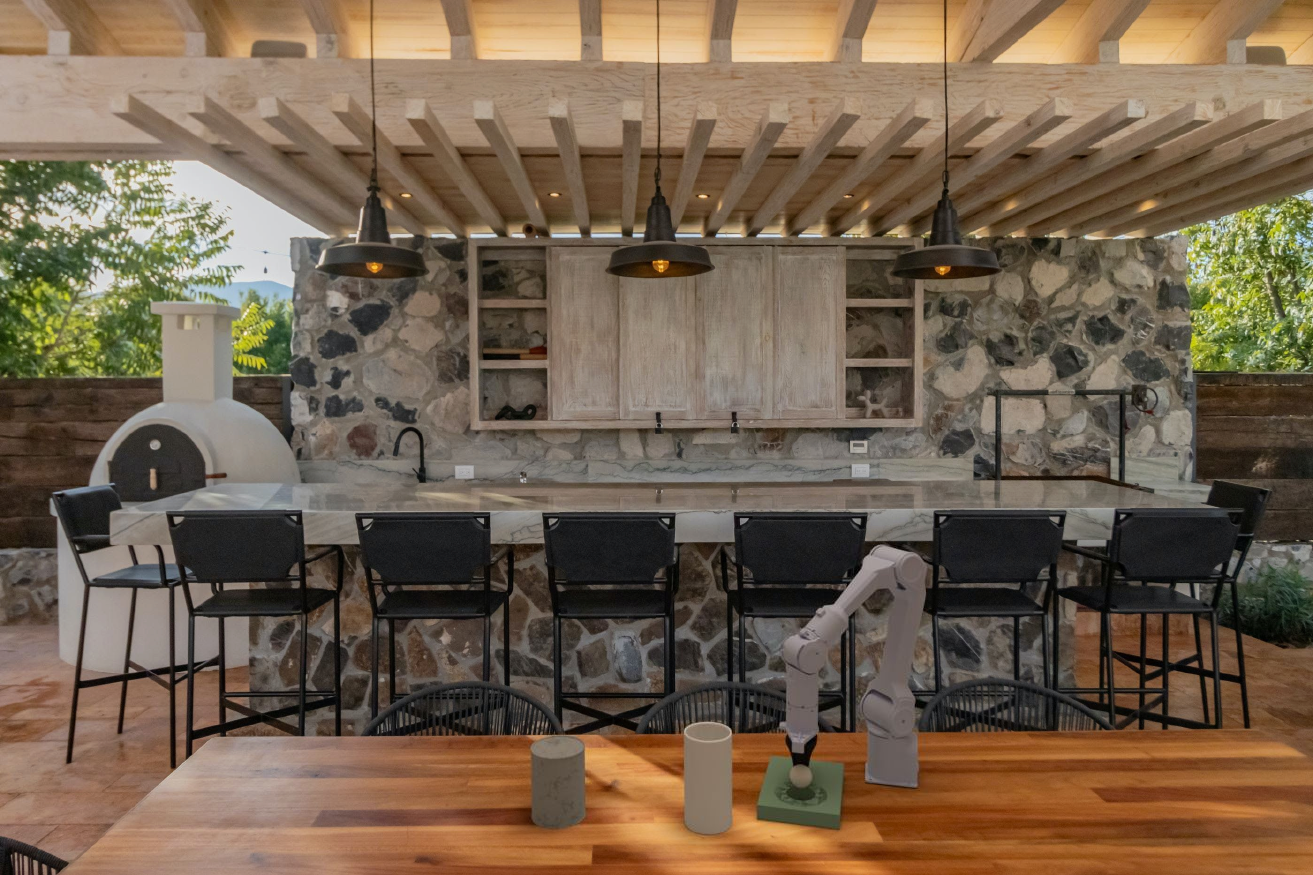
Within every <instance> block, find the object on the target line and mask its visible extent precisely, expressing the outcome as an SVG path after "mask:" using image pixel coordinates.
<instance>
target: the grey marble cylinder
mask: <svg viewBox="0 0 1313 875" xmlns="http://www.w3.org/2000/svg"><path fill="white" fill-rule="evenodd" d="M585 743H586V742H584V740H582V739H580V737H579V738H578V737H576V736H572V735H566V734H565V735H564V734H561V735H559V734H557V735H550V736H545V737H541V738H539V739H537V740H535V741H534V742H532V744H531V746H530V772H531V774H530V781H531V782H530V783H531V784H530V785H531V815H530V817H531V821H532V822H533V824H535V825H536V826H539V827H540V828H542V829H543V828H544V829H550V830H560V829H567V828H571V827H573V826H576V825H578V824H580V823H581V822H582V821H584V819H585V818H586V814H587V810H586V755H585V754H586V752H585V751H586V749H585V748H586V744H585Z"/></svg>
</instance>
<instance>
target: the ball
mask: <svg viewBox="0 0 1313 875" xmlns="http://www.w3.org/2000/svg"><path fill="white" fill-rule="evenodd" d="M790 780H791V782H792V783H793V785H795V786H796V787H798V788H805V787H807V786H808V785H809V784H810V783H811V781H812V773H811V771H810V769H809V768H808V767H807V766H805V765H802V764H798V765H795V766H794V767H793V768H792V769H791V771H790Z"/></svg>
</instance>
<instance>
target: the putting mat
mask: <svg viewBox="0 0 1313 875" xmlns="http://www.w3.org/2000/svg"><path fill="white" fill-rule="evenodd" d="M792 768H793V762H792V757H784V756H776V755H770V758H769V763H768V764H767V769H766V772H765V776H764V779H763V782H762V785H761V790H760V793H759V796H758V799H757V803H756V819H757V820H762V821H771V822H778V823H784V824H785V823H787V824H792V825H793V824H794V825H802V826H809V827H810V826H811V827H816V828H817V827H818V828H825V829H834V830H840V827H841V826H840V825H841V814H842V813H841V812H842V804H843V803H842V802H843V789H844V780H845V779H844V778H845V776H844V775H845V763H841V762H834V761H823V760H816V759H815V760H814V759H810V763H809V769H810V771H811V773H812V781H811V783H810V784H809V785H808V786H807V787H805V788H798V787H796V786H795V785H793V783H792V782H791V780H790V771H791V769H792Z"/></svg>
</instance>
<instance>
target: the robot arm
mask: <svg viewBox="0 0 1313 875" xmlns="http://www.w3.org/2000/svg"><path fill="white" fill-rule="evenodd" d="M927 571H928V565H927V564H926V563H925V561H924V560H923V558H922V557H921V555H919V554H918V553H916V552H912V551H906V550H902V549H900V548H899V549H898V548H894V547H892V546H891V547H890V546H888V545H886V544H878V545H876V546H874V547H873V548H872V549H871V550H870V552H869V554H867V555H866V556H865V557H864V558H863V560H862V567H861V569H860V570H859V571H858V573H857V574H856V575H855V576H854V578H853V579H852V580H851V581H850V583H849V584H848V586H847V587H846V588H845V589H844V590H843V592H842V593H841V594H840V596H839V597H838V598H837V599H836V600H835V602H834V604H829V605H828V604H827V605H823V607H819V608H818V609H816V611H815V615H814V616H813V618H811V620H810V621H808V623H807V624H806V625H805V626H804V627H803V628H801V629H800V631H799V633H796V634H794V635H791V636H790V637H788V638H787V639H786V640H785V642H784V643H783V646H782V649H780V657H781V659H782V661H783V662H784V663H785V671H786V691H785V692H786V695H785V696H786V699H785V700H786V703H785V706H786V707H785V712H786V713H785V721H781V722H779V726H778V727H779V728H778V729H780V730H782V731H785V732H786V735H785V739H784V740H785V745H786V746H787V748H788V751H789V753H790V756H791V757H790V758H792V762H793V767H794V766H795V765H798V764H802V765H805V766H807V767H808V768H809V763H810V760H811V757H812V753H813V752H814V751H815V750H814V749H815V748H816V747H817V743H818V739H819V738H818V736H819V735H818V734H819V732H820V727H819V725H818V721H819V718H818V716H819V677H820V676H819V675H820V674H819V671H820V670H821V669H822V668H824V667H825V664H826V660H827V656H828V654H829V651H830V648H831V647H832V646H833V645H834V644H835V643H836V642H837V640H838V639H839V638H840V637H841V636H842V635H843V633H844V632H845V631H846V630H847V629H848V627H849V617H850V616H851V615H852V614H853V613H854V612H856V610H857V609H859V607H861V605H863V603H864V602H865V601H867V600H868V599H869V597H871V596H872V595H873V594H874V593H875V592H876V591H877V590H882V589H888V590H889V591H890V592H891V594H892V595H893V597H894V600H893V605H892V609H891V614H890V620H889V624H888V629H887V632H886V633H887V634H886V638H885V643H884V647H883V648H884V649H883V652H882V657H881V663H880V667H879V672H878V676H877V677H875V678H874V679H872V680H870V681H869V682H868V684H867V688H866V691H865V693H864V694H863V696H862V698H861V700H860V703H859V712H860V714H861V716H862V717H863V718H864V720H865V726H867V762H865V764H864V766H865V767H864V768H865V769H864V770H865V771H864V772H865V774H864V779H865V780H864V782H866V783H870V784H879V785H888V786H894V787H896V786H898V787H905V788H906V787H907V788H914V789H916V788H918V787H919V785H918V773H920V764H919V758H918V757H919V754H918V753H919V751H918V750H919V749H918V748H919V743H918V741H919V740H918V733H916V732H913V731H912V730H913V729H914V727H915V724H916V719H917V718H916V710H915V704H916V698H915V696H914V694H913V693H912V690H911V689H910V687H909V679H910V673H911V670H912V669H911V668H912V664H913V659H914V655H915V654H914V653H915V650H916V644H917V641H918V635H919V630H920V626H921V620H922V614H923V612H924V611H923V610H924V606H925V603H926V602H925V601H926V596H927V591H926V583H925V581H926V577H927Z"/></svg>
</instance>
